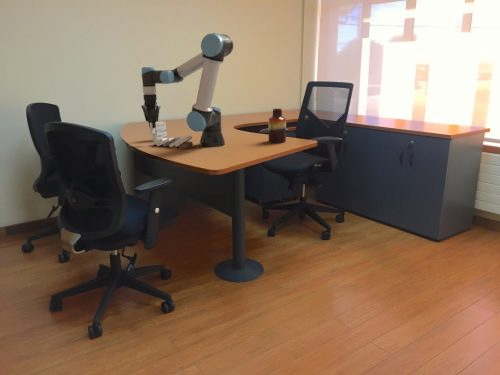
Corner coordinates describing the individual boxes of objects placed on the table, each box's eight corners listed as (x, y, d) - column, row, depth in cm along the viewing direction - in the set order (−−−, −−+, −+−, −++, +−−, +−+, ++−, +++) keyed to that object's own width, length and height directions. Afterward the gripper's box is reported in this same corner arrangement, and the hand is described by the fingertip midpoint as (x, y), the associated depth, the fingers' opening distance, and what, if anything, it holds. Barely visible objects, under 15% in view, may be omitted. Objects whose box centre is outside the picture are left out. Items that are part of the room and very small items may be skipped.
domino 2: (162, 145, 260) (174, 139, 255) (157, 146, 256) (169, 141, 251) (161, 142, 260) (173, 137, 255) (156, 143, 256) (168, 138, 251)
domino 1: (156, 144, 263) (167, 139, 258) (150, 145, 258) (162, 141, 253) (155, 142, 262) (166, 137, 257) (149, 143, 258) (161, 138, 253)
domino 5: (180, 145, 254) (192, 138, 249) (176, 147, 250) (187, 139, 245) (179, 143, 254) (191, 135, 249) (174, 144, 250) (186, 137, 245)
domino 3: (168, 145, 258) (180, 139, 253) (163, 146, 254) (175, 140, 249) (167, 143, 258) (179, 137, 253) (162, 144, 254) (174, 138, 249)
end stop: (192, 146, 253) (192, 141, 252) (184, 149, 246) (183, 144, 245) (188, 146, 255) (188, 141, 254) (179, 149, 247) (179, 144, 246)
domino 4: (175, 146, 256) (186, 138, 251) (170, 147, 252) (181, 140, 247) (174, 143, 256) (185, 136, 251) (169, 145, 252) (180, 137, 247)
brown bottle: (270, 143, 260) (270, 110, 254) (267, 140, 270) (267, 108, 264) (287, 142, 262) (287, 109, 256) (283, 139, 272) (283, 107, 266)
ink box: (162, 139, 281) (161, 121, 278) (167, 139, 278) (166, 121, 274) (152, 141, 274) (150, 122, 271) (157, 141, 271) (155, 123, 268)
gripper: (162, 93, 252) (165, 132, 259) (145, 93, 257) (148, 131, 264) (154, 94, 246) (157, 134, 252) (137, 94, 251) (140, 133, 258)
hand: (152, 133), depth 258 cm, fingers closed
